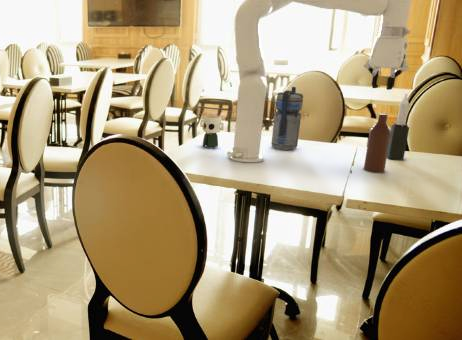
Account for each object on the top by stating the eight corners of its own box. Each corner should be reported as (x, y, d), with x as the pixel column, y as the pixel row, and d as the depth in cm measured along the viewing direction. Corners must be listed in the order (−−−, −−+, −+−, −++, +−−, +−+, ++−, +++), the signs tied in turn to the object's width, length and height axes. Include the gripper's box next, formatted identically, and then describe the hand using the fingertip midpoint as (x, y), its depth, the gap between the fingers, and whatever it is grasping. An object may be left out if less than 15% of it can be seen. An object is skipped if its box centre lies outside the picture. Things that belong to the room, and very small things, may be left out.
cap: (390, 85, 175) (391, 75, 174) (388, 86, 172) (390, 76, 171) (377, 84, 177) (378, 75, 176) (375, 85, 174) (376, 75, 173)
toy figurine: (194, 146, 215) (196, 115, 211) (203, 144, 220) (205, 113, 216) (217, 151, 207) (219, 119, 204) (226, 148, 212) (228, 117, 209)
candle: (389, 159, 198) (401, 94, 191) (385, 156, 202) (396, 92, 196) (404, 160, 196) (416, 95, 190) (399, 157, 201) (411, 93, 194)
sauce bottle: (383, 173, 178) (394, 116, 173) (363, 170, 181) (372, 114, 176) (384, 169, 183) (394, 113, 178) (364, 166, 186) (373, 112, 181)
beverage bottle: (265, 149, 211) (272, 88, 205) (275, 144, 222) (282, 85, 215) (291, 153, 205) (299, 90, 199) (300, 147, 216) (307, 87, 209)
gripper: (424, 34, 166) (413, 90, 171) (370, 32, 178) (361, 85, 183) (416, 33, 162) (405, 92, 167) (361, 32, 174) (352, 86, 179)
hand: (382, 88), depth 175 cm, fingers closed on cap, 3 cm apart
